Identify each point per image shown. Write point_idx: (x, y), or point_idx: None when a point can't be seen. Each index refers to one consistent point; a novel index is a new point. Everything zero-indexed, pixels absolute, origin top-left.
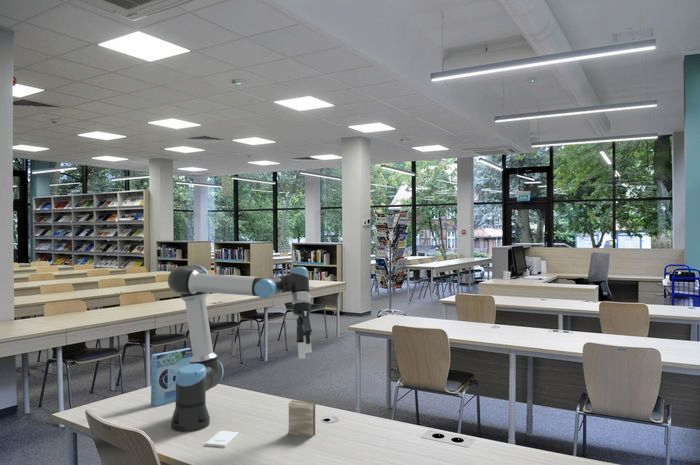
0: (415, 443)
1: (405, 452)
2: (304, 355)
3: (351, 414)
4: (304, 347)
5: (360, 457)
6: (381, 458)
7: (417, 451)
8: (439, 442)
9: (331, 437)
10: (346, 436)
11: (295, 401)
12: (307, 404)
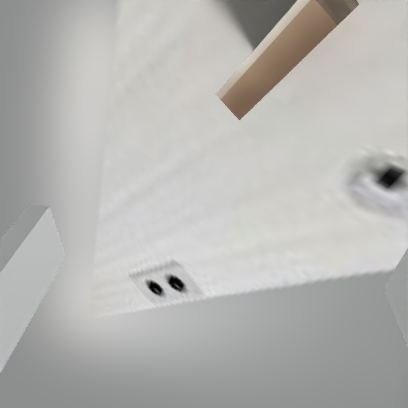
0: (155, 237)
1: (125, 201)
2: (396, 306)
3: (379, 257)
4: (5, 246)
5: (116, 120)
6: (108, 153)
7: (126, 218)
8: (151, 265)
9: None
10: (227, 154)
11: (306, 37)
12: (235, 80)
